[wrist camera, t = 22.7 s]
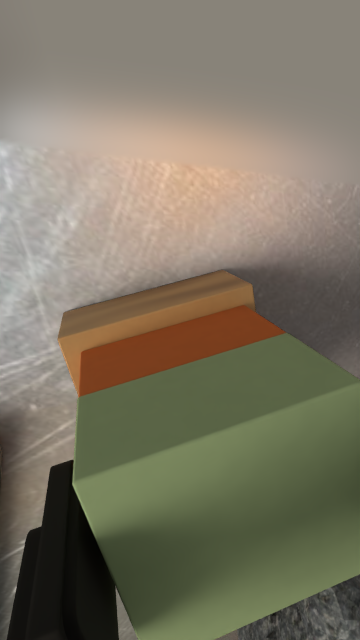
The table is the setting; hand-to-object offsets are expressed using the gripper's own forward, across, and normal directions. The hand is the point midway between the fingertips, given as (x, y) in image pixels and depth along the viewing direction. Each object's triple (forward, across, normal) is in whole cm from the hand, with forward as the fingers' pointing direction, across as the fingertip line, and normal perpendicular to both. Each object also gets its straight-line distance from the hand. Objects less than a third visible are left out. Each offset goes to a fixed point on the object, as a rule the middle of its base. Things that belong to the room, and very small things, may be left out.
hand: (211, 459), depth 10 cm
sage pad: (+1, 0, 0) cm, 1 cm away
